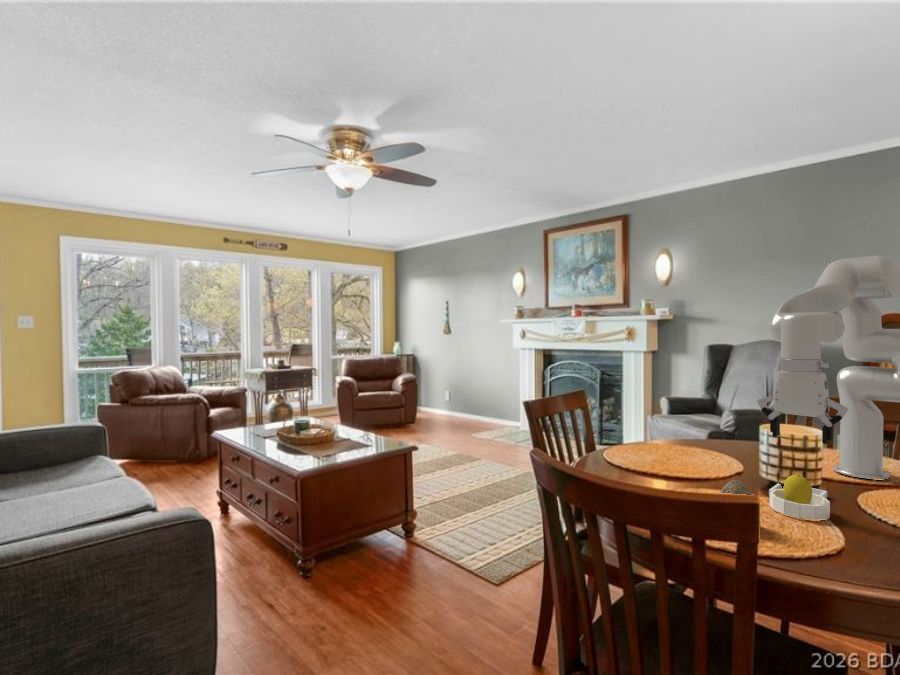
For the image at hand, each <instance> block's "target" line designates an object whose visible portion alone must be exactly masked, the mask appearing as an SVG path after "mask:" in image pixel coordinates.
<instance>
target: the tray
mask: <svg viewBox="0 0 900 675" xmlns="http://www.w3.org/2000/svg"><path fill="white" fill-rule="evenodd" d="M811 488H812V493H814V494H817V495H819V496H822V497H824V498H826V499H827V498H828V491H827V490H824V489H819V488H814V487H811ZM774 489H783V488H782V486H781V484H779V482H778V483H776V484H775V485H774V486H772V487H771V488H769V489H768V496H769V497H770V492H771V491H772V490H774Z"/></svg>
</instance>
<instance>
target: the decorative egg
mask: <svg viewBox="0 0 900 675" xmlns="http://www.w3.org/2000/svg"><path fill="white" fill-rule="evenodd" d="M719 493H732V494H746V495H752V496H753V494H752V493H751V491H750V489H748V487H747V486H746V485H745V483H743V482H742V481H741V480H739V479H731V480H729V481H728V482H727V483H726V484H724V486H723V487H722V488H721V489H720V491H719Z"/></svg>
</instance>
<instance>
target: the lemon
mask: <svg viewBox="0 0 900 675" xmlns="http://www.w3.org/2000/svg"><path fill="white" fill-rule="evenodd" d="M783 482H784V486H783V488H782V489H783V493H784V496H785V498H786V499H787V501H791V502H795V503H799V504H808V503H809V502H810V501H811V499H812V488H813V487H812V485H811V483H810V481H809V480H808V479H807V478H806V477H804V476H802V475H800V474H799V473H796V474H792V475H790V476H788V477H786V479H784V481H783Z"/></svg>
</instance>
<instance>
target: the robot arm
mask: <svg viewBox="0 0 900 675" xmlns="http://www.w3.org/2000/svg"><path fill="white" fill-rule="evenodd" d="M899 297H900V263H898V262H897V261H896V260H895V259H893V258H892V257H888V256H886V255H870V256H861V257H860V256H859V257H851V258H850V257H849V258H847V257H846V258H841V259H836V260H834V261H832V262H830V263H829V264H828V265H827V266H826V267H825V268H824V270H823V272H822V273H821V275H820V276H819V278H818V279H817V282H816V283H815V284H814V286H813V287H812V288H809V289H807V290H804V291H802V292H800V293H798V294H796V295H793V296H791V297H790V298H788V299H786V300H785V301H784V302H782V303H781V305H780V306H779V307H778V308H777V310H776V311H775V313H774V315H773V316H772V319H771V322H770V326H769V328H770V329H769V330H770V334H771V337H772V338H773V339H774V340H775V341H777V342H780V370H779V371H777V372H776V376H775V377H776V378H775V383H774V390H773V394H771V395H768V396H765V397H762V398H760V399H757V404H758V406H759V408H760V409H761V412H762V413H763V414H764V415H765V416H766V417H767V419H768V420H770V421H769V431H770V433H771V434H772V437H773V438H776V437H778V436H780V434H781V432H780V431H781V426H780V425H781V420H780V418H779V416H780V415H782V414H785V415H793V416H802V417H813V418H818V419H819V420H820V421H821V422H822V423H823V424H824V425H823V426H822V429H821V430H822V437H821V442H822V444H823V445H828V444H829V443H830V441H833V437H834V436H833V432H834V430H833V426H834V425H836V424H837V423H839V464H835V465H833V466H832V470H833V469H834V470H835V471H837V472H840V473H843V474H846V475H850V476H854V477H860V478H868V479H887V478H891V474H890V473H889V472H887V471H885V470H884V468H883V467H884V466H883V465H884V461H883V459H884V458H883V457H884V456H883V455H884V415H883V413H882V410H880V409H879V407H878V406H877V405H876V404H875V403H874V402H873V401H875V402H877V401H879V402H889V403H890V402H892V403H900V328H883V325H882V311H881V308H880V306H878V305H877V304H876V302H874V301H873V300H877V299H896V298H899ZM839 311H841V315H842V318H841V316H840V315H839V314H837V313H836V312H839ZM841 338H842V348H843V349H842V350H843V353H844V354H843V355H844V356H845V358H846V359H848V360H850V361H853V362H854V361H855V362H862V363H864V362H865V363H884V364H885V363H886V364H892V365H893V366H894V367H879V366H868V365H867V366H866V365H863V366H862V365H852V366H846V367H843V368H841V369H840V370H839V371H838V372H837V375H836V385H837V391H838V395H839V396H838V397H839V402H837V401H835V400H833V399H830V392H829V384H828V379H827V375H826V373H825V372H822V371H823V370H824V369H829V368H830V363H829V362H825V361H823V360H822V355H821V354H822V344H833V343H835V342H838V341H839V340H840V339H841ZM769 402H772V403H773V404H772V405H773V410H771V408H769V407H768V405H767V403H769ZM830 408H831V409H834V410H836V411H837V413H836V414H835V416H833V417H831V416H830V415H829V413H830ZM834 470H833V471H834ZM835 471H834V472H835Z"/></svg>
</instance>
